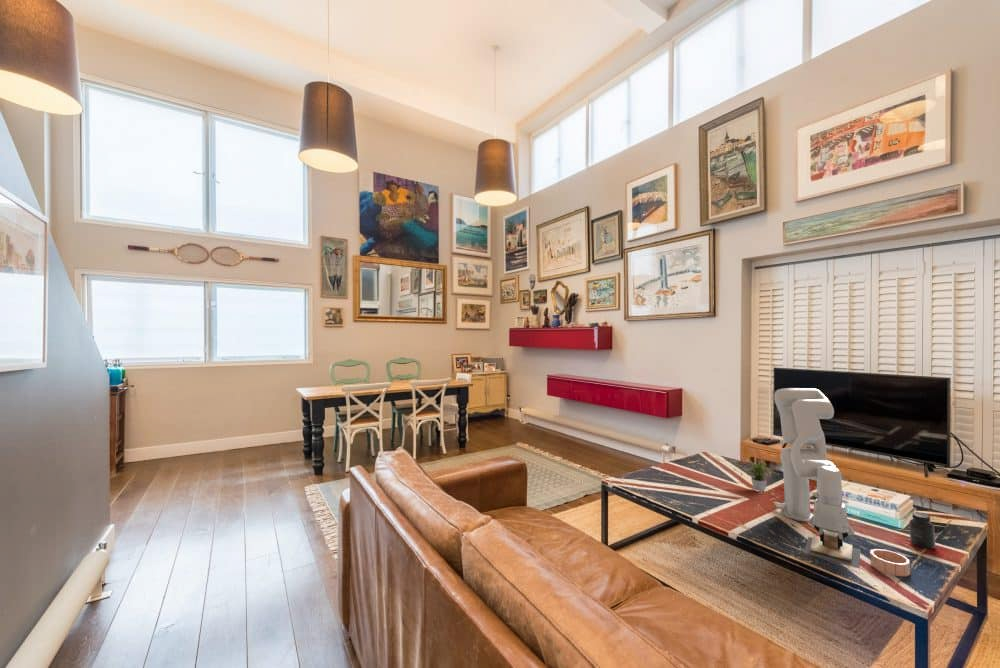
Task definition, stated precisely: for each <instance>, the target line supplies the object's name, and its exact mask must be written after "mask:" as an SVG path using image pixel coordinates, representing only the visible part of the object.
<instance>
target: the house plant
mask: <svg viewBox="0 0 1000 668" xmlns="http://www.w3.org/2000/svg"><path fill="white" fill-rule="evenodd" d="M747 461H749V462H750V464H751V465H750V464H748V463H745V462H744V464H745V465H746V464H747V466H748V467H749V469H748V468H744V470H745V471H747V472H746V474H747V475H748V476H750V475H753V476H751V478H750V479H751V482H752V483H751V484H752V487H753V488H752V489H753V490H754V489H756V490H759V491H764V490H765V491H766V488H767V487H766V486H767V479H766V477H765V476H764V475H765V472H766V471H767V470H768V469H769V467H767V466H768V464H767V463H766V462H764V459H762V460H761V461H759V462H758V465H756V463H754V462H753V461H751V460H750V459H748V458H747ZM746 474H745V475H746ZM767 474H769V472H768V473H766V475H767ZM772 474H773V473H771V472H770V475H772Z"/></svg>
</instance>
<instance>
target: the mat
mask: <svg viewBox="0 0 1000 668" xmlns="http://www.w3.org/2000/svg"><path fill="white" fill-rule="evenodd" d="M812 539H813V536H808V538H807V541H806V545H805V549H804V552H803V553H804V554H806V555H809V556H813V557H817V558H819V559H823V560H827V561H830V562H835V563H838V564H842V565H846V566H849V567H852V568H853V567H854V568H856V569H860V568H861V549H860V548H855V547H853V548H852V561H849V560H845V559H842V558H838V557H834V556H831V555H827V554H823V553H820V552H816V551H812V550H810V547H811V543H812Z"/></svg>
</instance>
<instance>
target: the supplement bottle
mask: <svg viewBox="0 0 1000 668" xmlns="http://www.w3.org/2000/svg"><path fill="white" fill-rule="evenodd" d="M911 517H912V519H910V520H909V541H910V543H911V544H912V545H914V546H916V547H919V548H922V549H926V550H933V549H935V548H936V539H935V537H936V535H935V525H934V524H933V523H932V522H931V516H930V515H928V514H926V513H922V512H917V511H915V512H912V516H911Z"/></svg>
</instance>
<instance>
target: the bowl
mask: <svg viewBox="0 0 1000 668" xmlns="http://www.w3.org/2000/svg"><path fill="white" fill-rule="evenodd" d="M870 565H871V566H872V567H874V568H875V569H877V570H878V571H880V572H882V573H884V574H888V575H891V576H895V577H909V576H910V575H911V562H910V559H908V557H906V556H904V555H903V554H900V553H898V552H895V551H891V550H889V549H888V550H887V549H884V548H883V549H881V548H874V549H870Z"/></svg>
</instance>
